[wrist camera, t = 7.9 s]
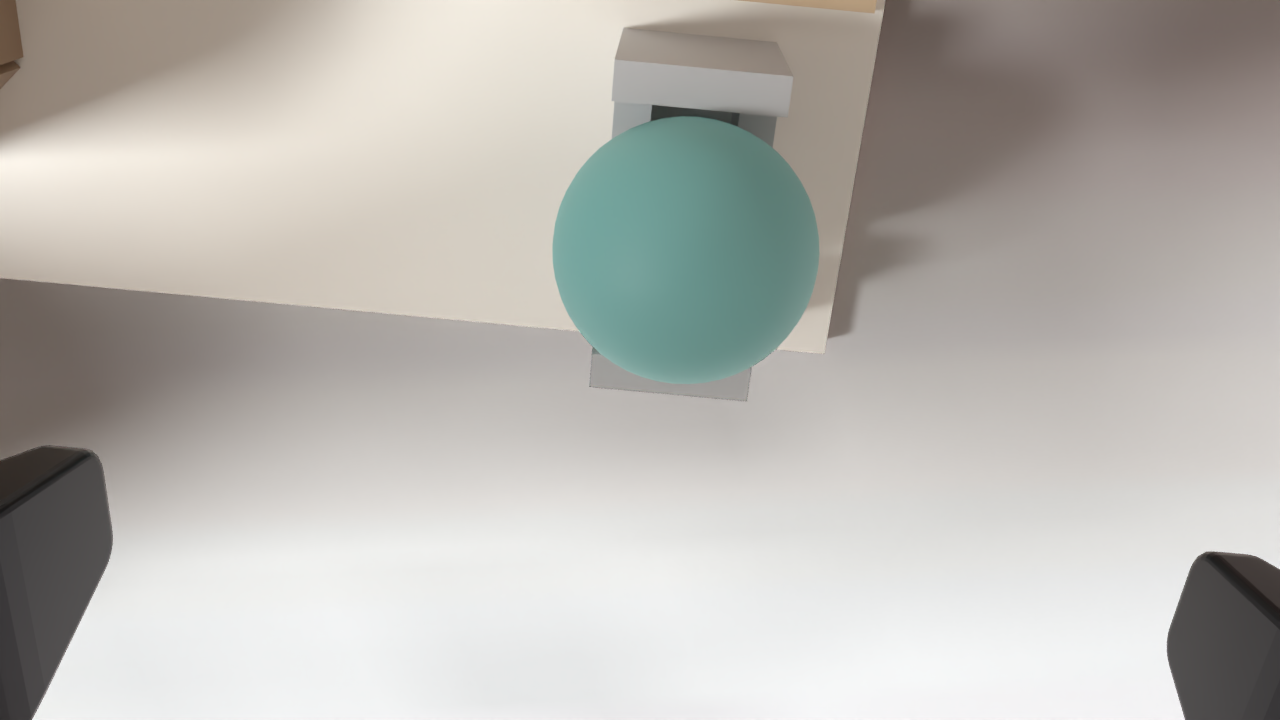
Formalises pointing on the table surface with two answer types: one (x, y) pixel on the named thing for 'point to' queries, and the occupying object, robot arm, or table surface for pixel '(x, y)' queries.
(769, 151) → the teal ball
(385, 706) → the table surface
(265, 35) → the board
